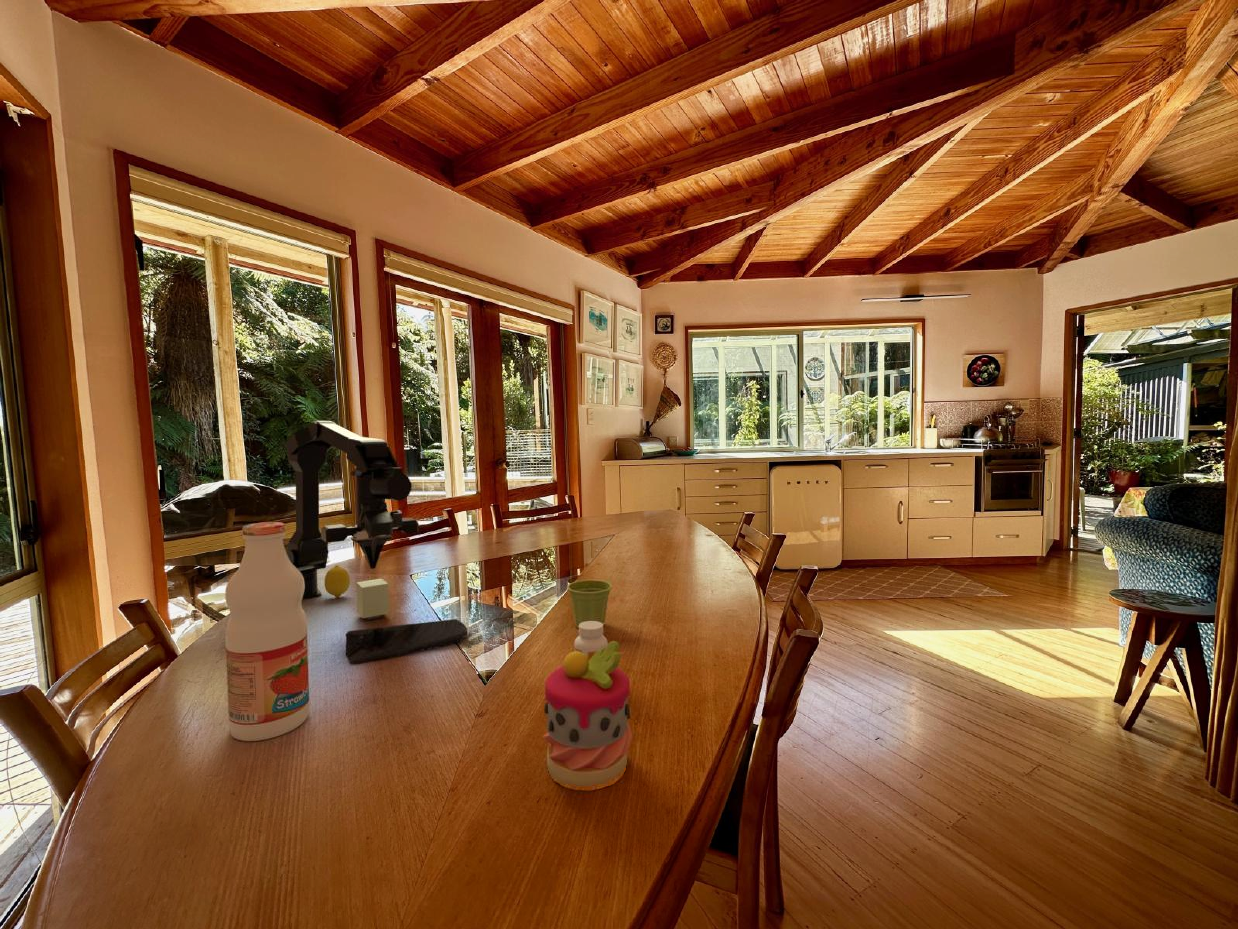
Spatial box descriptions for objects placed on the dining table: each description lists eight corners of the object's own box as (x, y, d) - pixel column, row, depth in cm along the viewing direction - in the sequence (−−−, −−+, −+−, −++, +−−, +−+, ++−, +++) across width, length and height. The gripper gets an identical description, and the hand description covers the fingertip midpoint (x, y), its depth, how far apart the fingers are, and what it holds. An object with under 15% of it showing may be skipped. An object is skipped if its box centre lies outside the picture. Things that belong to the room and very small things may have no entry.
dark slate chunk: (472, 649, 102) (471, 625, 101) (341, 669, 93) (341, 642, 93) (462, 623, 116) (461, 601, 115) (348, 638, 107) (347, 614, 107)
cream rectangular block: (357, 611, 118) (356, 582, 118) (382, 607, 121) (381, 578, 121) (363, 618, 114) (362, 587, 114) (388, 613, 117) (388, 583, 117)
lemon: (355, 594, 134) (354, 563, 133) (341, 601, 128) (340, 568, 128) (334, 593, 134) (333, 562, 134) (319, 600, 129) (318, 567, 128)
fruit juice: (247, 710, 78) (240, 520, 76) (318, 703, 80) (313, 518, 79) (215, 747, 69) (206, 532, 67) (296, 738, 71) (289, 529, 69)
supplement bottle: (612, 678, 89) (612, 621, 88) (600, 693, 84) (600, 632, 83) (582, 673, 91) (582, 617, 90) (568, 688, 85) (568, 628, 85)
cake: (559, 803, 59) (558, 670, 58) (534, 751, 69) (534, 636, 68) (644, 779, 63) (645, 655, 62) (610, 733, 73) (610, 625, 72)
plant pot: (559, 630, 110) (559, 589, 110) (579, 616, 119) (579, 577, 118) (600, 637, 107) (600, 594, 106) (618, 622, 115) (618, 582, 115)
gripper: (330, 504, 104) (333, 584, 105) (427, 497, 116) (428, 569, 117) (319, 499, 113) (321, 572, 113) (410, 493, 124) (411, 559, 125)
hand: (372, 568), depth 117 cm, fingers closed
